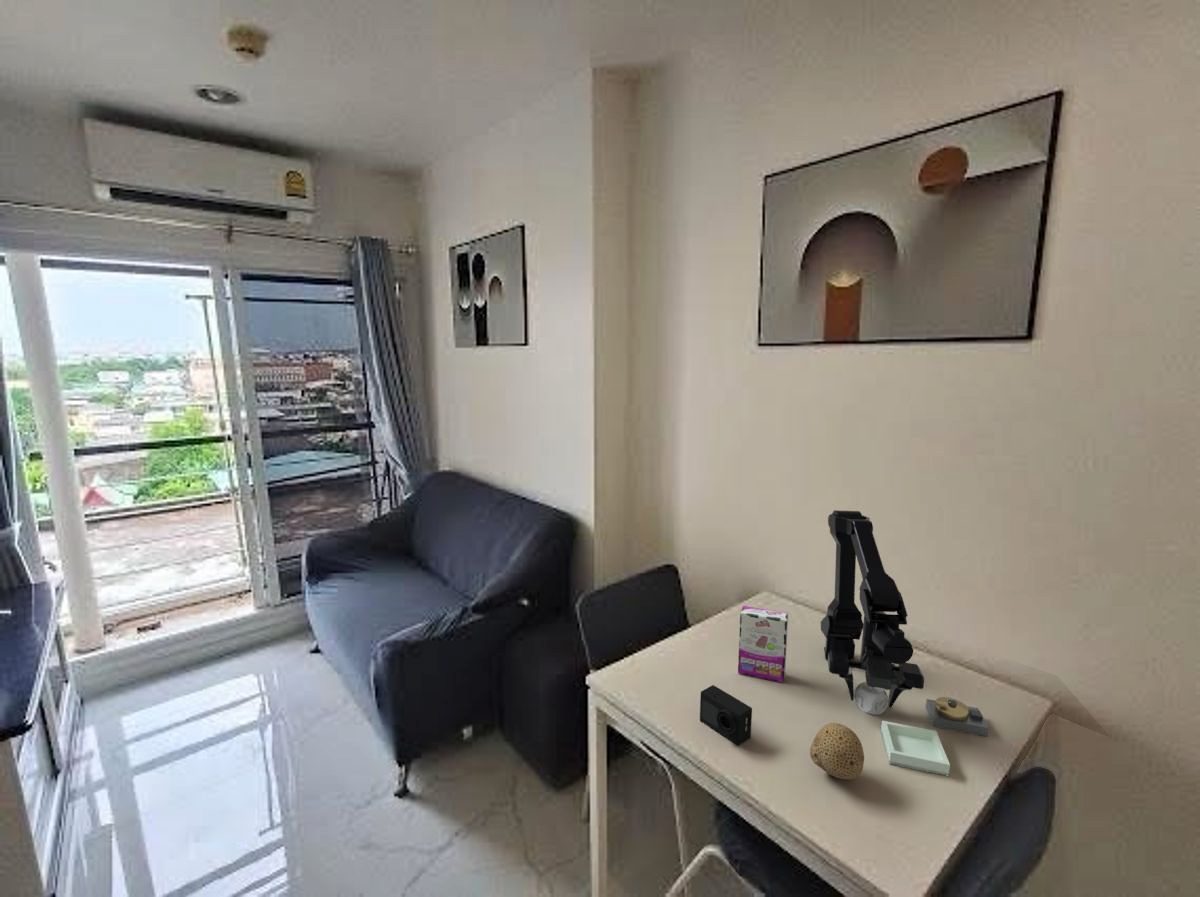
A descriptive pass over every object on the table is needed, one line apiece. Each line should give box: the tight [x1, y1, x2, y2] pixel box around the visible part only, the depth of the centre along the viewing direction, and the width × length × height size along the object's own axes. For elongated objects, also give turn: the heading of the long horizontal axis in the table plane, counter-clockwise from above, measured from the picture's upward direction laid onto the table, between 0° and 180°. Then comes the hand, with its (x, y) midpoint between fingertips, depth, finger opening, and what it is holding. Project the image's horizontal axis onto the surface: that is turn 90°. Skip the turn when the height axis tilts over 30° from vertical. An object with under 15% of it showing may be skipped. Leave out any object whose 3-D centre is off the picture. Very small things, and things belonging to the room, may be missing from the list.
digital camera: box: [699, 684, 753, 747], centre depth 114 cm, size 10×5×7 cm, turn 38°
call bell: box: [925, 696, 990, 737], centre depth 117 cm, size 10×7×4 cm
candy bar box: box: [737, 605, 789, 684], centre depth 134 cm, size 11×5×16 cm, turn 68°
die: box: [854, 681, 889, 716], centre depth 122 cm, size 5×5×5 cm
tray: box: [880, 720, 951, 776], centre depth 108 cm, size 10×10×2 cm
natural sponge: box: [809, 722, 865, 780], centre depth 101 cm, size 9×9×10 cm
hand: (870, 703), depth 122 cm, fingers open, 7 cm apart
